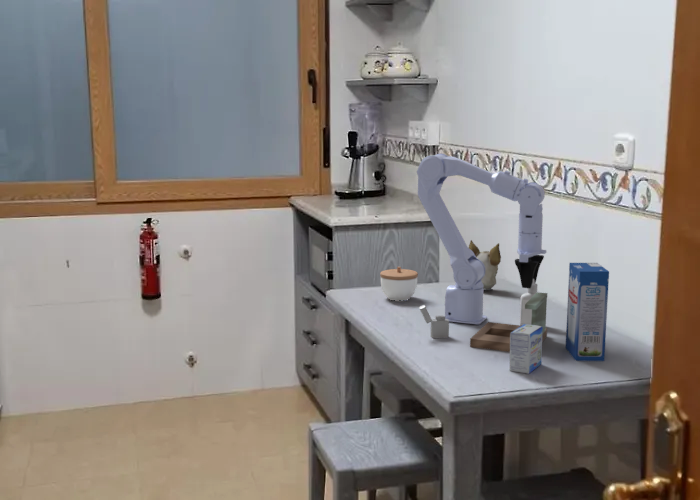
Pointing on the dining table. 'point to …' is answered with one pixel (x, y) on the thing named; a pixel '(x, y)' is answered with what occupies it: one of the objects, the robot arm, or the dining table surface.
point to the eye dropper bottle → (525, 313)
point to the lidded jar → (398, 283)
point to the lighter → (436, 324)
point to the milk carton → (587, 311)
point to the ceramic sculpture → (488, 263)
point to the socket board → (510, 327)
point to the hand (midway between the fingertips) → (528, 285)
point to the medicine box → (526, 348)
